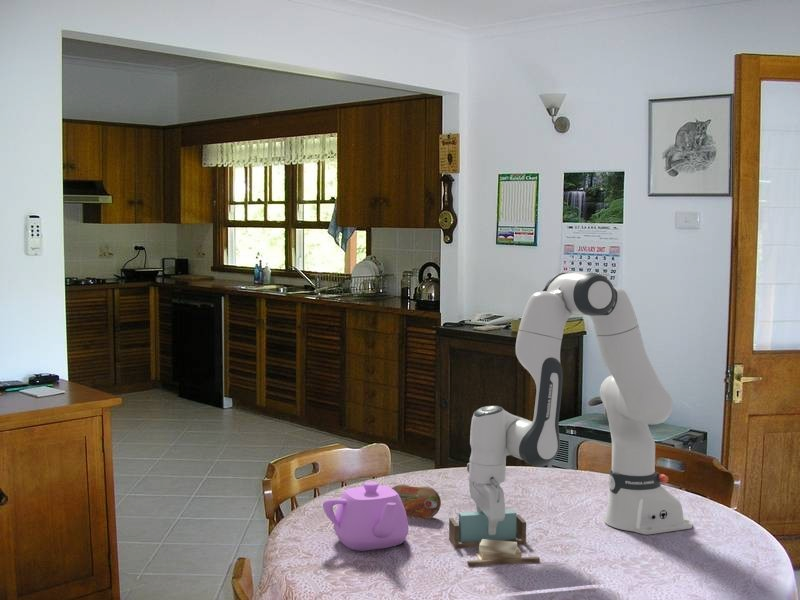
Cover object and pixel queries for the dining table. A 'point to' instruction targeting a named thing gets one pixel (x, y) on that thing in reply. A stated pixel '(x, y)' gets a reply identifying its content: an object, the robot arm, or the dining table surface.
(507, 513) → the board
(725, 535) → the dining table surface
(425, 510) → the tin
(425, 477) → the dining table surface
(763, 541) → the dining table surface
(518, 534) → the rack
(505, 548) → the offcut top
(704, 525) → the dining table surface
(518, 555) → the offcut middle
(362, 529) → the teapot
